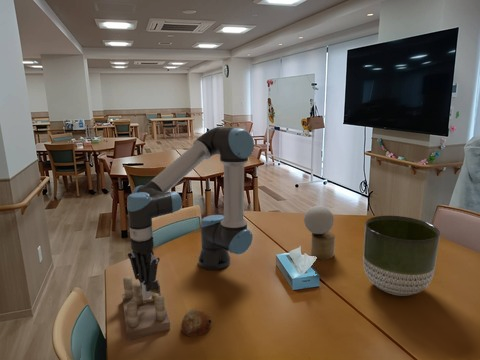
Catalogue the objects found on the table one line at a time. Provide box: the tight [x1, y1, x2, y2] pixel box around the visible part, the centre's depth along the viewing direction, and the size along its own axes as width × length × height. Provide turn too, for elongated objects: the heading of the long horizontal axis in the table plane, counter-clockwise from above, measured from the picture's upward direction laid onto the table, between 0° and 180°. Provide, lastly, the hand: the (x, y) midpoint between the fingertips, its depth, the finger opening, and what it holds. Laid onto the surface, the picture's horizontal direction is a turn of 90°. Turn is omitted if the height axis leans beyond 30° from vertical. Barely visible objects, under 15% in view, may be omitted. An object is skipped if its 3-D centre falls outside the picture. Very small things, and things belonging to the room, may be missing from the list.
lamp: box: [303, 205, 336, 260], centre depth 170 cm, size 15×14×25 cm
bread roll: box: [180, 308, 212, 337], centre depth 119 cm, size 10×10×8 cm
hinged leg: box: [133, 282, 159, 306], centre depth 128 cm, size 9×3×8 cm, turn 112°
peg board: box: [121, 276, 171, 341], centre depth 125 cm, size 24×14×11 cm, turn 22°
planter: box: [362, 215, 441, 297], centre depth 138 cm, size 27×27×27 cm
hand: (146, 297), depth 125 cm, fingers closed
